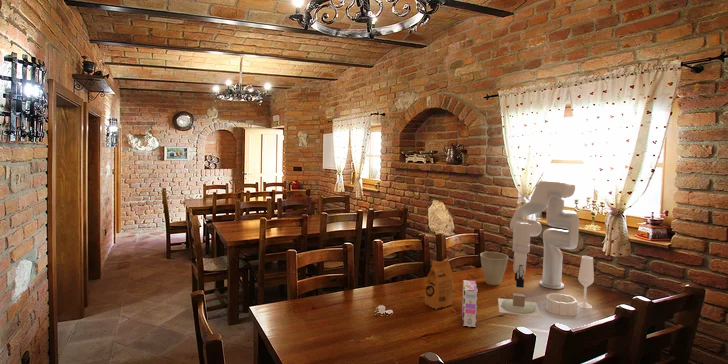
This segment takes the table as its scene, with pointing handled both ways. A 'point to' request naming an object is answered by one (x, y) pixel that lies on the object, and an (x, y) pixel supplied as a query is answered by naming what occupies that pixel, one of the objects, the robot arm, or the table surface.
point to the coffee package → (439, 285)
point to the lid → (518, 304)
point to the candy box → (469, 303)
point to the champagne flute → (586, 278)
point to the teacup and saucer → (383, 310)
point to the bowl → (561, 304)
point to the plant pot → (493, 266)
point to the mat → (535, 313)
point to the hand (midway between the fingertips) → (519, 283)
